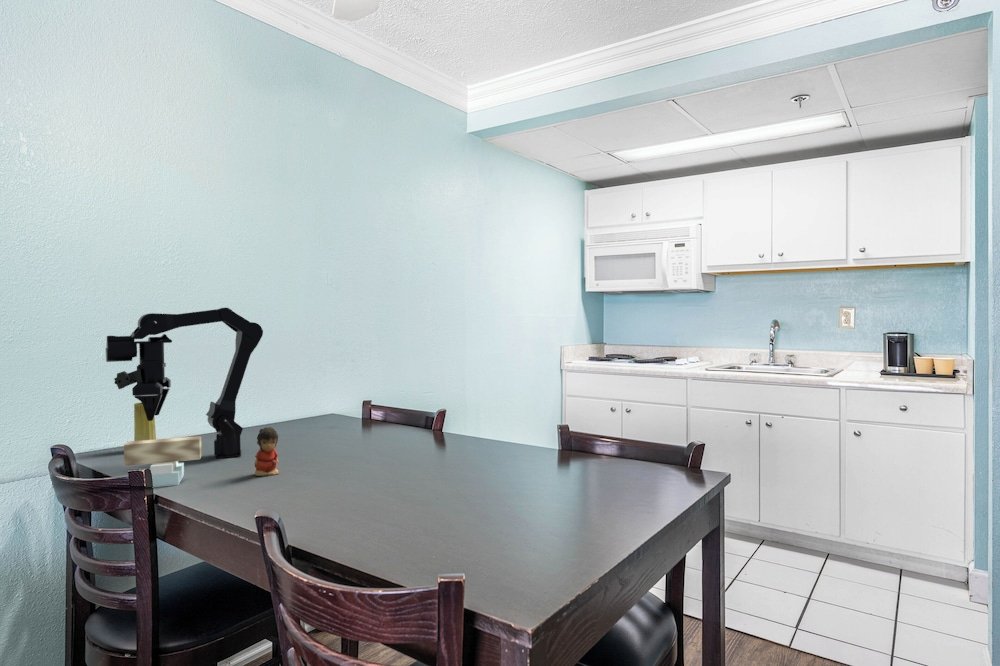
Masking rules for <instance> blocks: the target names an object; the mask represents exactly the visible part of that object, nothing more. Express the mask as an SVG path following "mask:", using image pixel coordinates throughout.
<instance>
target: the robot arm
mask: <svg viewBox="0 0 1000 666" xmlns="http://www.w3.org/2000/svg"><path fill="white" fill-rule="evenodd" d="M219 322H222V323H224V325H226V326H227V327H229V328H230V329H231V330H233V332H235V333H236V335H235V351H234V354H233V356H232V357H233V358H232V359H231V363H230V365H229V369H228V372H227V375H226V378H225V381H224V384H223V387H222V389H221V393H220V396H219V398H218V399H217V401H216V402H214V401H210V403H209V409H208V411H207V412H206V414H205V415H206V416H207V423H208V425H209V426H211V428H213V429H215V432H216V435H215V439H214V441H213V444H214V445H213V448H214V449H213V450H214V456H215V459H223V458H234V457H242V453H243V452H242V439H241V438H242V437H241V435H242V432H243V430H244V429H243V428H244V427H242V426H241V425H240V424H239V423H237V422H235V419H236V418H235V417H236V403H237V402H236V400H237V397H238V394H239V390H240V388H241V386H242V382H243V379H244V376H245V374H246V371H247V368H248V367H247V366H248V363H249V361H250V357H251V355H252V354H253V352H254V351H255V349H256V348H257V347H258V345H259V343H260V341H261V340H262V337H263V334H264V329H263V328H262V326H261V324H259V323H257V322H251V321H249V320H247V319H246V318H244V317H243V316H242V315H239V314H238V313H236V312H235V311H233V309H231V308H229V307H220V308H217V309H207V310H202V311H199V310H198V311H194V312H193V311H192V312H185V313H184V312H183V313H178V314H175V313H154V312H152V313H151V312H150V313H145V314H142V315H141V316H140V318H139V319H138V320H137V327H136V328H135V330H133V331H132V332H131V334H130V335H123V336H122V335H120V336H117V335H116V336H115V335H107V336H106V346H105V361H106V363H111V362H112V363H116V362H132V361H133V358H138V357H137V356H138V353H139V364H138V365H136V370H134V371H131V372H127V371H125V370H123V371H120V372H117V373H116V377H114V378H113V381H114V384H115V385H116V387H117V389H118V390H122V389H124V388H126V387H128V386H130V385H134V384H135V385H134V386H133V387H132V396H134V398H135V399H137V400H138V401H140V402H142V404H143V407H144V410H145V413H146V417H147V420H148V421H152V420H153V418H154V416H159V415H160V414H161V410H162V408H163V405H164V403H165V400H166V399H167V395H168V394H169V391H170V388H171V387H172V385H171V382H172V380H171V379H170V378H169V377H167V376H166V375H165V368H166V367H167V365H166V362H165V344H171V343H172V342H173V340H172V339H170V338H169V337H168V336H167V334H165V333H166V332H169V331H172V330H174V329H179V328H182V327H190V326H198V325H204V324H213V323H219ZM162 333H163V334H162ZM159 334H162V335H161V336H156V335H159ZM146 337H148V338H147V340H143V339H145V338H146ZM135 340H136V341H135ZM137 340H139V341H137ZM138 346H139V347H138ZM138 348H139V350H138ZM138 351H139V352H138Z"/></svg>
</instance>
